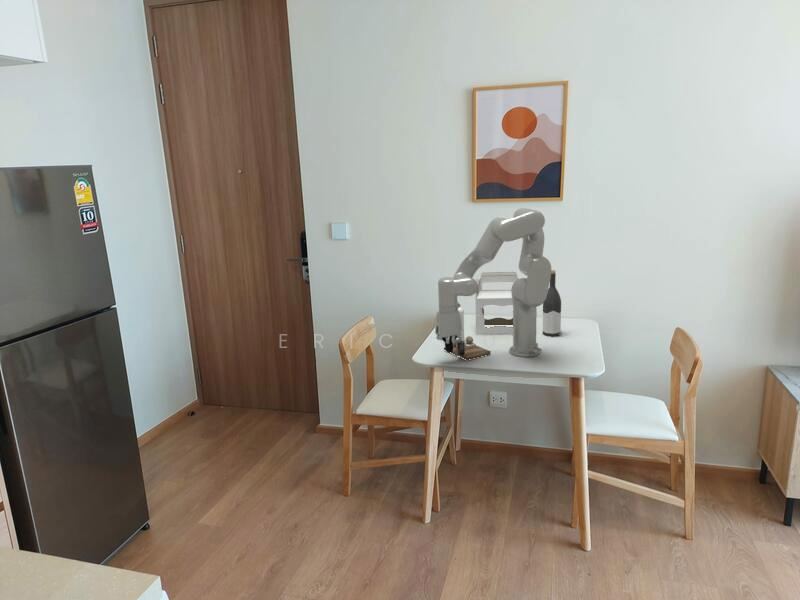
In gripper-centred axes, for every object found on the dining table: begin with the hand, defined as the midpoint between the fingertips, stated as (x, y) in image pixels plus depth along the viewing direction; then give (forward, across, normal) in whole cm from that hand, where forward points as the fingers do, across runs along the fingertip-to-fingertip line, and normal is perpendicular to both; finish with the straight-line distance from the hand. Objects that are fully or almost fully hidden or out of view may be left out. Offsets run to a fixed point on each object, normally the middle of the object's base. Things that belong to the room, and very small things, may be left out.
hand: (449, 351), depth 231 cm
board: (+4, -11, -6) cm, 13 cm away
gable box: (+5, -39, -27) cm, 48 cm away
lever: (+2, -8, -6) cm, 10 cm away
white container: (+4, -14, -22) cm, 26 cm away
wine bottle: (+4, -56, -9) cm, 57 cm away
